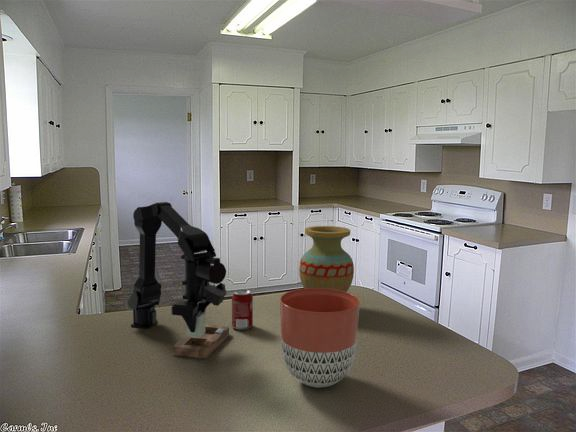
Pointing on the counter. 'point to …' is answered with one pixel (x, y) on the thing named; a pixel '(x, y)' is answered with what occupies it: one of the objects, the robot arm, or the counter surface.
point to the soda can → (242, 309)
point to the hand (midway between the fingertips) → (196, 329)
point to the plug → (198, 326)
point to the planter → (319, 334)
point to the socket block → (201, 342)
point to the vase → (326, 260)
